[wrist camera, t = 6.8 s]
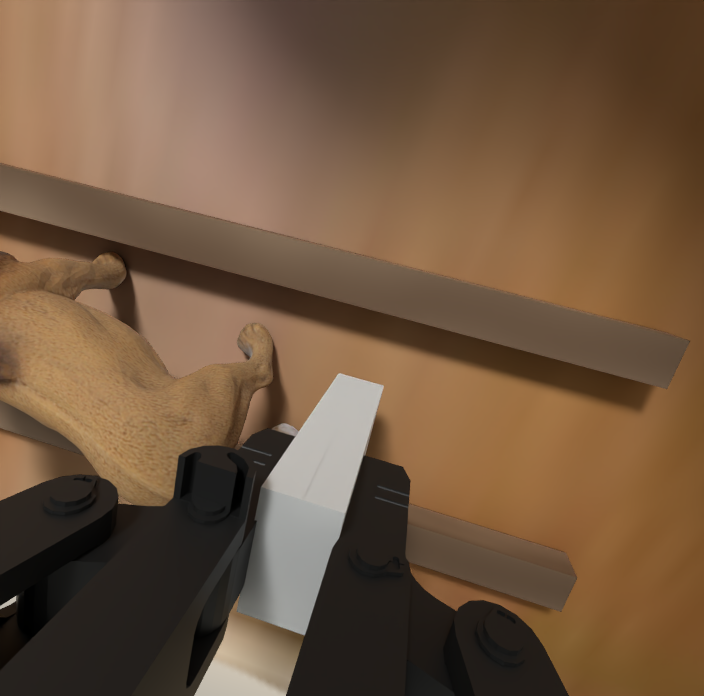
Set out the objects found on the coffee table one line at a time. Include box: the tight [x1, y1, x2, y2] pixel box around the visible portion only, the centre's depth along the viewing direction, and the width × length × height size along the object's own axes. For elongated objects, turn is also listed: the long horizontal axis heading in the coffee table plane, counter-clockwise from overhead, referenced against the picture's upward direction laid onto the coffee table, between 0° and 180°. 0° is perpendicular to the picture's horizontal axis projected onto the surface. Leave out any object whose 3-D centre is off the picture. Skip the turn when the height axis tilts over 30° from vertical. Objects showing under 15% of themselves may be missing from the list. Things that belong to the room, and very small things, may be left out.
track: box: [0, 163, 690, 612], centre depth 14 cm, size 10×32×4 cm, turn 76°
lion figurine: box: [0, 251, 298, 506], centre depth 12 cm, size 15×5×9 cm, turn 72°
